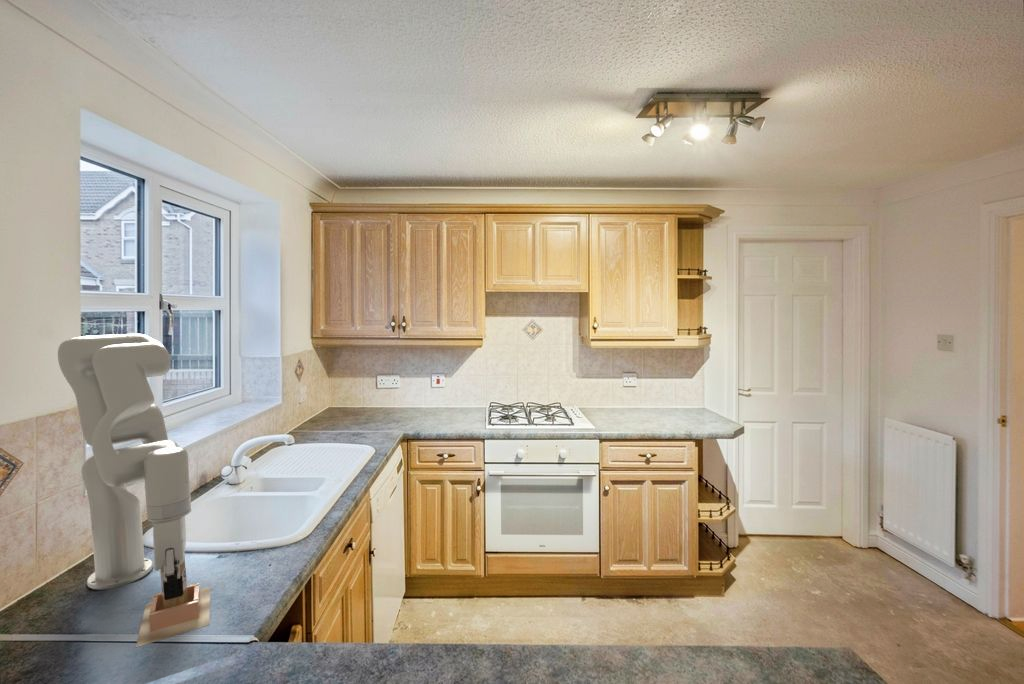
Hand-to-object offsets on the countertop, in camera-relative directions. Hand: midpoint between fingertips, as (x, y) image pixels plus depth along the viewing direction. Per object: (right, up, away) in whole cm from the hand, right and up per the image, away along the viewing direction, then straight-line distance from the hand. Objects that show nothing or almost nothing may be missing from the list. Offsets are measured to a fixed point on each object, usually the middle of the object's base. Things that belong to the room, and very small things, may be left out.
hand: (174, 590), depth 101 cm
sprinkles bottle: (0, -4, 0) cm, 4 cm away
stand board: (0, -6, +1) cm, 6 cm away
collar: (0, -5, 0) cm, 5 cm away
